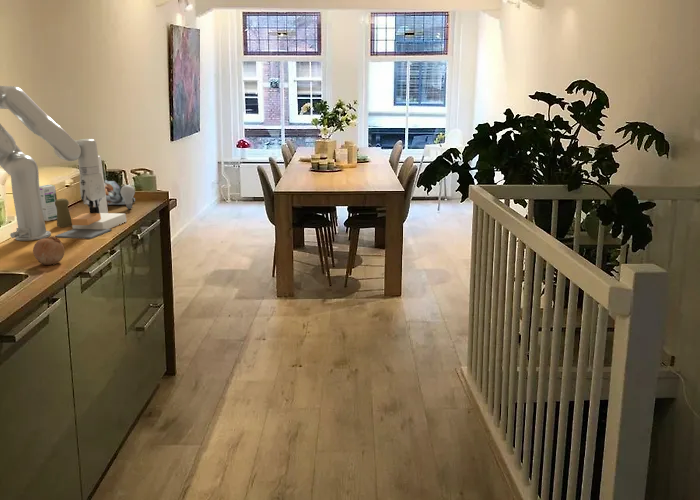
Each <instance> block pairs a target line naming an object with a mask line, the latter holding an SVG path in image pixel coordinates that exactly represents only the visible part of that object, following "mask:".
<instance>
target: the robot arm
mask: <svg viewBox="0 0 700 500" xmlns="http://www.w3.org/2000/svg"><path fill="white" fill-rule="evenodd" d="M0 109H4V110H5V109H6V110H8V111H10V112H11V113H12V114H13V115H14V116H15V118H17V119H18V120H19V121H20V122H21V123H22V124H23V125H24V126H25V127H26V128H27V129H28V130H29V131H31V132H32V133H33V134H35V135H36V136H37V137H40V138H41V139H43V140H44V141H45V142H46V143H48V144H49V146H51V147H52V148H53V151H54V154H55V156H56V157H58V158H59V159H62V160H64V161H68V162H75V161H77V163H78V171H79V194H80V199H81V201H83V205H87V207H88V208H89V213H99V207H98V206H99V202H100V201H101V200H102V198H103V197H104V196H105V189H104V183H103V179H102V175H101V173H100V169H99V161H98V156H99V153H98V143H97V141H96V140H95V139H94V138H83V139H82V138H81V139H78V140H76V139H74V138H73V137H71V135H70V134H69V133H68V132H67V131H66V130H65V129H64V128H62V127H61V125H59V124H58V123H56V121H55V120H54V119H53V118H52V117H50V116H49V115H48V114H47V113H46V111H44V110H43V109H42V108H41V107H40V106H39V105H38V104H37V103H36V102H35V101H34V100H33V99H32V98H31V96H29V95H28V93H26V92H25V91H24V90H23V89H21V88H20V87H19V86H15V85H14V86H11V85H10V86H9V85H0ZM0 167H1V168H2V169H3V171H5V172H6V173H7V174H8V175H9V176H10V179H11V180H10V181H11V183H10V184H11V192H12V198H13V204H14V211H15V216H16V223H17V227H16V231H13V232H11V233H10V234H9V236H10V238H12V239H15V240H16V241H19V242H22V241H25V242H27V241H28V242H29V241H38V240H40V239H43V238H47V237H51V236H52V232H51V231H50V230H47V228H46V222H45V220H44V214H43V207H42V200H41V194H40V187H39V186H40V177H39V167H38V165H37V162H36V161H35V159H34V158H33V157H32V156H30V155H29V154H25V153H24V152H23V151H22V150H21V149H20V147H19V146H18V145H17V143H16V140H15V138H14V136H13V135H12V134H11V133H9V131H8V130H7V129H5V127H4V126H3V125H2V123H0Z"/></svg>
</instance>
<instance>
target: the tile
mask: <svg viewBox="0 0 700 500" xmlns="http://www.w3.org/2000/svg"><path fill="white" fill-rule="evenodd" d="M100 219H101V216H100V213H90V212H87V213H86V212H84V213H81V214H78V216H75V217H73V218H72V217H71V222H72V225H90V224H92V223H94V222H96V221H98V220H100Z"/></svg>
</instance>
